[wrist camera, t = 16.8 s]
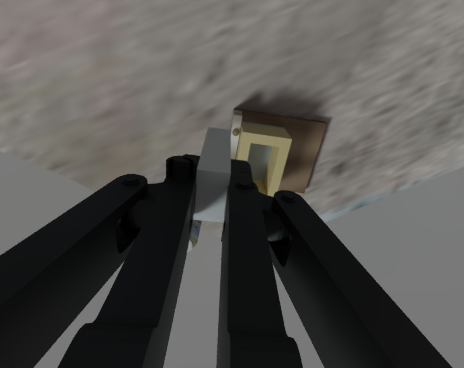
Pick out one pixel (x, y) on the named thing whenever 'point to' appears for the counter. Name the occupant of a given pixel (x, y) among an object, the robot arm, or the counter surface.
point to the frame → (264, 153)
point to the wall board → (301, 148)
